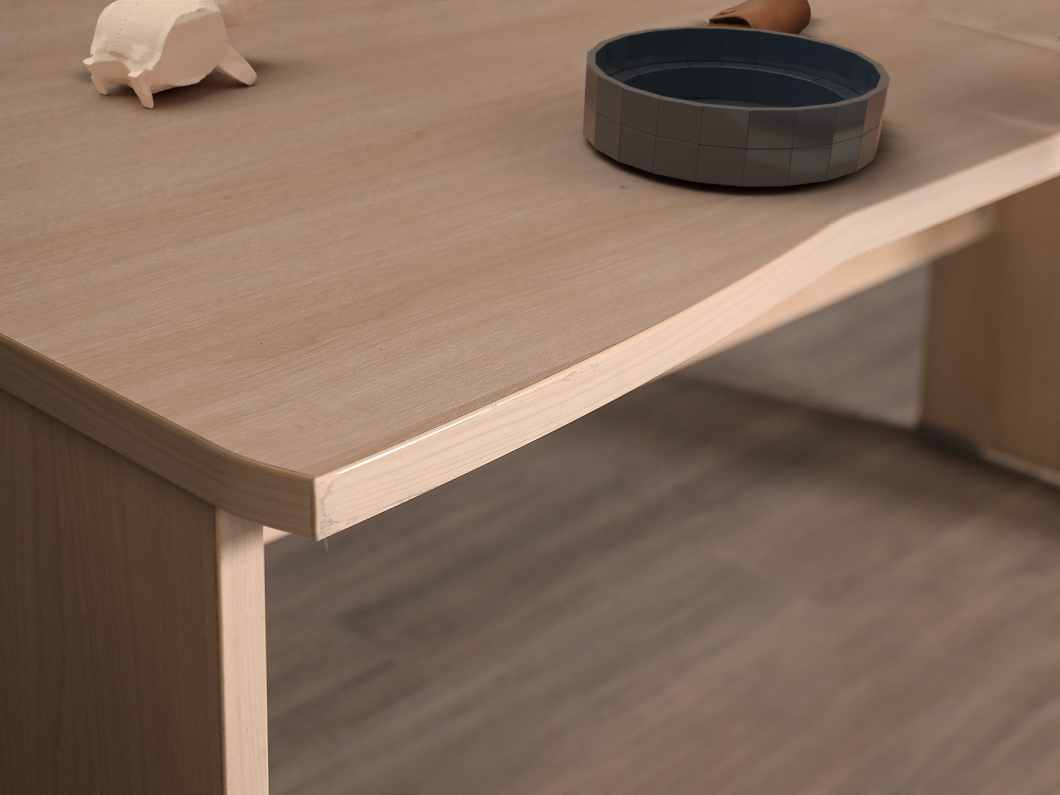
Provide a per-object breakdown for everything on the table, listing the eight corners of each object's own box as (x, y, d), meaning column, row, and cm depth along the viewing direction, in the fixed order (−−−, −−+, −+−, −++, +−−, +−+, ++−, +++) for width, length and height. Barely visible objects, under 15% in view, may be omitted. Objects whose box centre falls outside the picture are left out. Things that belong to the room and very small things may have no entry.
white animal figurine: (181, 148, 91) (309, 35, 98) (132, 49, 84) (272, -64, 91) (105, 124, 95) (233, 17, 102) (53, 28, 88) (193, -79, 95)
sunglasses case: (718, 17, 115) (762, -43, 111) (777, 64, 115) (823, 6, 111) (661, 65, 100) (709, -2, 96) (728, 119, 100) (779, 54, 96)
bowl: (936, 156, 85) (952, 76, 82) (728, 220, 74) (739, 131, 71) (725, 83, 98) (733, 13, 95) (523, 128, 87) (525, 51, 84)
